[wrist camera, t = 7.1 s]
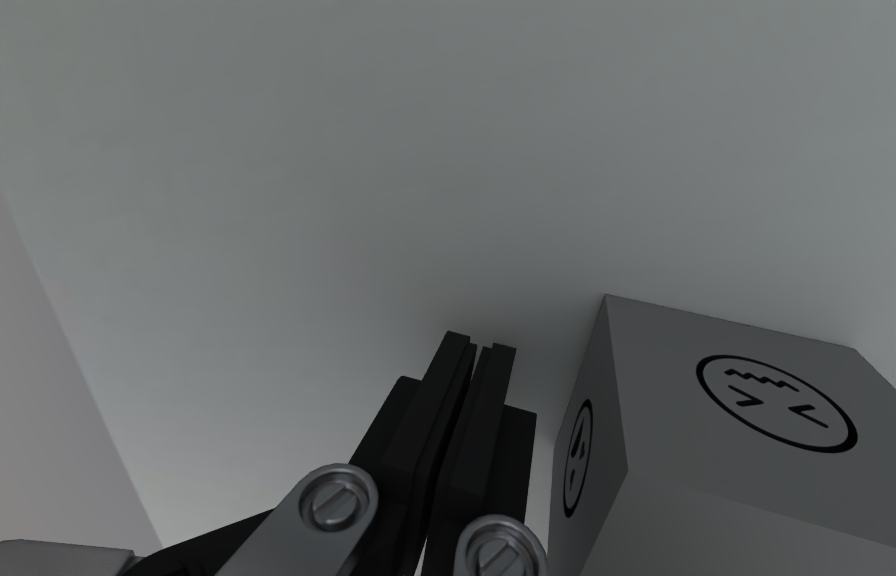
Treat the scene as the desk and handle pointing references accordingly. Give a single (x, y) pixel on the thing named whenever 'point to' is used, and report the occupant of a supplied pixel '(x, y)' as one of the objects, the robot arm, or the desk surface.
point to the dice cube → (721, 453)
